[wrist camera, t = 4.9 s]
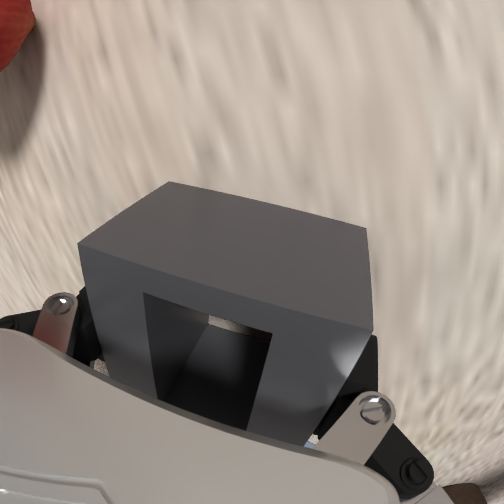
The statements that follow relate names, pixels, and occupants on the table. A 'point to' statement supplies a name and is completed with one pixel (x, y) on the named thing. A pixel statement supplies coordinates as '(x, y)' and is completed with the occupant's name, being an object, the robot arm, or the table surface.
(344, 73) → the table surface
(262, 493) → the robot arm
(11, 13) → the onion
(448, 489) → the plant pot
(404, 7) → the table surface
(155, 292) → the hollow gray block
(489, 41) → the table surface
